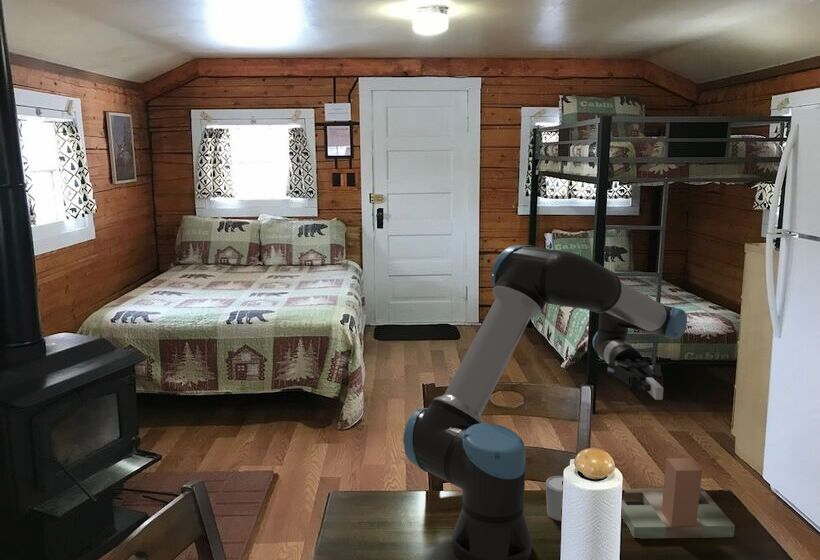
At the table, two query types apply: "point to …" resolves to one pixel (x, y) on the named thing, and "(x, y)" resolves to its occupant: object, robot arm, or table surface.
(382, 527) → the table surface
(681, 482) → the block
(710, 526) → the board
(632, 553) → the table surface
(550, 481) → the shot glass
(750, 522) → the table surface
